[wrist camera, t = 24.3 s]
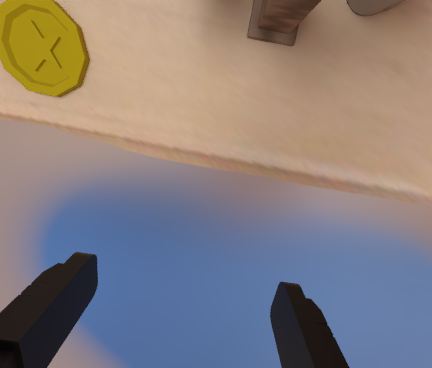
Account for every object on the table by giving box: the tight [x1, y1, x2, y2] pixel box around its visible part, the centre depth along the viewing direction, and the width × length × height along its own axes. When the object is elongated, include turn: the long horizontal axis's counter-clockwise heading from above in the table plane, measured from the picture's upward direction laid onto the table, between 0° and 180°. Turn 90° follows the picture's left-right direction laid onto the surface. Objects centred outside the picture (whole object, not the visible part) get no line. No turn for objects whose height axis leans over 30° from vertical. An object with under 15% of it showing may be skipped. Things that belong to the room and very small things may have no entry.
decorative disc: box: [0, 0, 90, 97], centre depth 43 cm, size 17×18×2 cm
